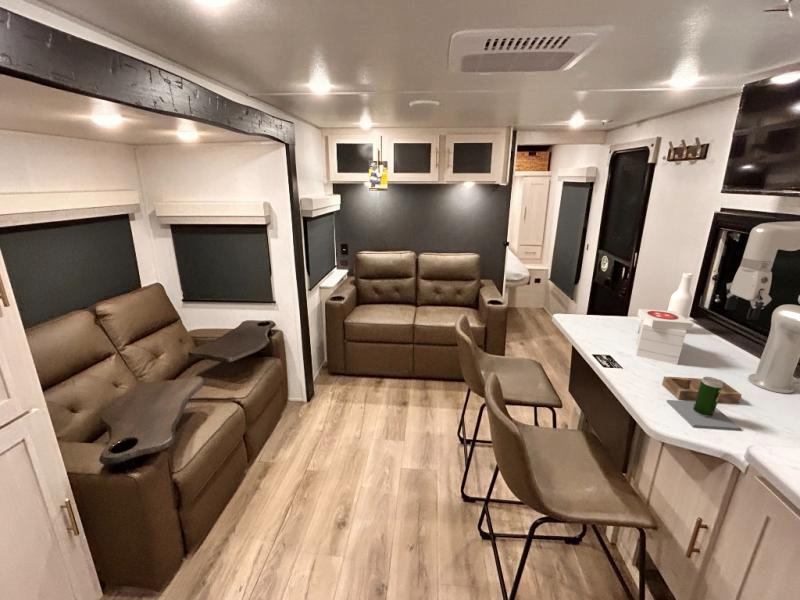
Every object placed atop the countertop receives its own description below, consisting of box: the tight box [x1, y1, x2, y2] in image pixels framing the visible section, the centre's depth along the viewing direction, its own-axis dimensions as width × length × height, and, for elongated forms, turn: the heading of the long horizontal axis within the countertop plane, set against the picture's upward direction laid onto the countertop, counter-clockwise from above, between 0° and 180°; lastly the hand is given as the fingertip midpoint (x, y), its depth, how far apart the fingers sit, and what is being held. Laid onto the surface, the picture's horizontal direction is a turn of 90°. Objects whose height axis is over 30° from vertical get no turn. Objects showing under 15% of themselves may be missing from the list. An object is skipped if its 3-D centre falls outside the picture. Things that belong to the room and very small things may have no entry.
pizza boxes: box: [635, 308, 694, 365], centre depth 169 cm, size 19×30×18 cm, turn 148°
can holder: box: [661, 376, 743, 404], centre depth 135 cm, size 20×10×4 cm, turn 85°
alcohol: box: [667, 272, 694, 320], centre depth 190 cm, size 9×9×30 cm
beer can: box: [693, 376, 723, 417], centre depth 121 cm, size 5×5×12 cm
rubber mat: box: [666, 399, 742, 431], centre depth 123 cm, size 14×14×1 cm
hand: (740, 314), depth 128 cm, fingers open, 9 cm apart
